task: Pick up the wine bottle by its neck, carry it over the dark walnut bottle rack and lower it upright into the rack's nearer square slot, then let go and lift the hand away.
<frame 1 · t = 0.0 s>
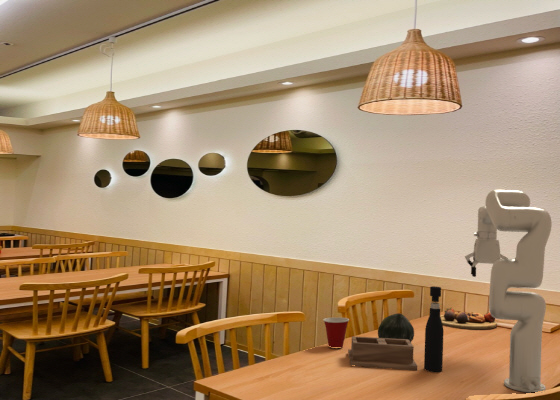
hand: (485, 277, 222), 31 cm above the table, tool pointing down, fingers open, 9 cm apart
squash: (395, 346, 226), on the table
wooden plate with food: (464, 324, 280), on the table
plastic cup: (335, 347, 219), on the table
bottle rack: (381, 361, 201), on the table
wine bottle: (433, 370, 192), on the table
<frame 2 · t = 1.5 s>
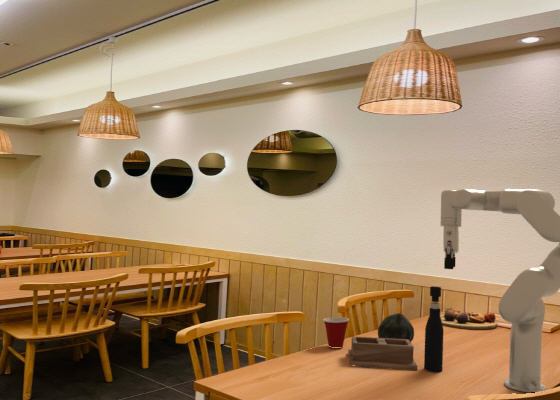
hand: (449, 267, 200), 37 cm above the table, tool pointing down, fingers open, 9 cm apart
nothing on the table moved.
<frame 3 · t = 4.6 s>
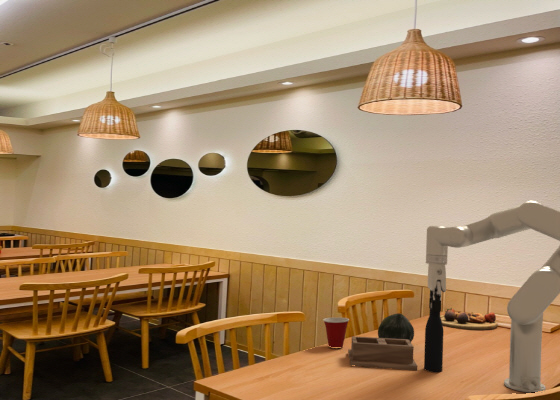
hand: (434, 309, 193), 22 cm above the table, tool pointing down, fingers closed on wine bottle, 3 cm apart
wine bottle: (433, 370, 192), on the table, touching gripper
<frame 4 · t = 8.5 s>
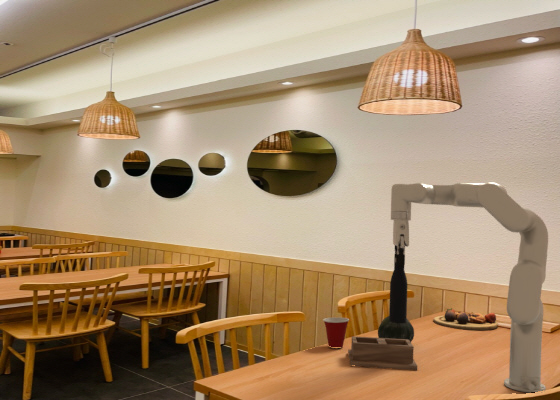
hand: (399, 264, 201), 37 cm above the table, tool pointing down, fingers closed on wine bottle, 3 cm apart
wine bottle: (397, 322, 201), point 15 cm above the table, touching gripper
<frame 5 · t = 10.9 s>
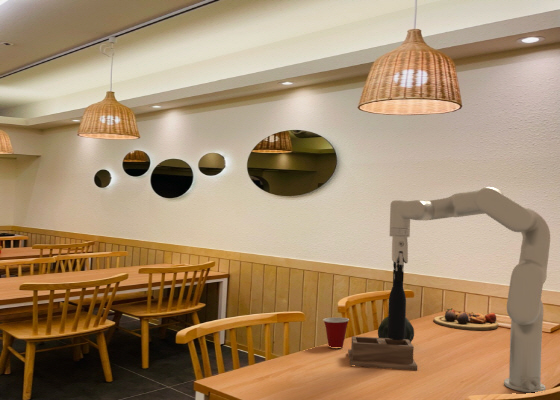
hand: (398, 280, 201), 31 cm above the table, tool pointing down, fingers closed on wine bottle, 3 cm apart
wine bottle: (396, 338, 201), point 9 cm above the table, touching gripper
when the fingers open (25 cm above the table, at t = 12.7 s): wine bottle stays where it is, resting on bottle rack.
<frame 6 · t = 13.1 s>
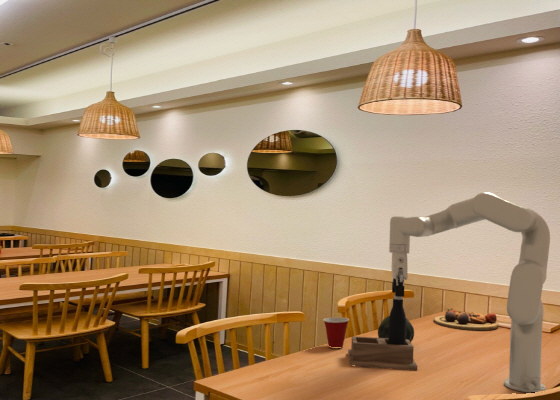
hand: (397, 294, 201), 26 cm above the table, tool pointing down, fingers open, 8 cm apart
wine bottle: (396, 358, 200), point 1 cm above the table, touching bottle rack
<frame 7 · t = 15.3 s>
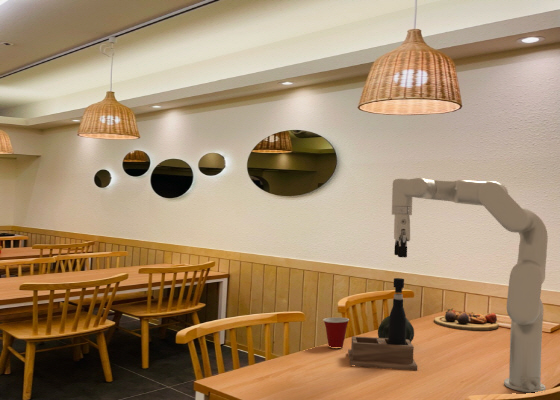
hand: (400, 256, 201), 40 cm above the table, tool pointing down, fingers open, 9 cm apart
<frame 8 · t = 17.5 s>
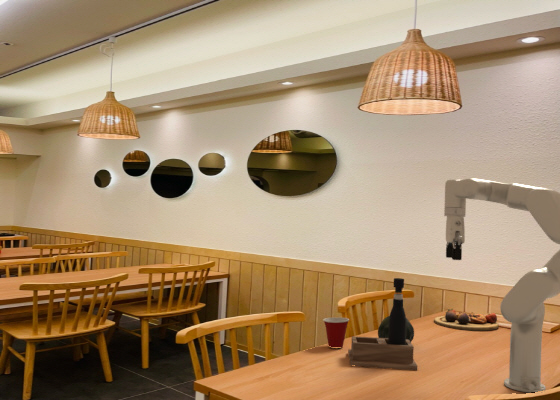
hand: (453, 258, 197), 40 cm above the table, tool pointing down, fingers open, 9 cm apart
at the end: wine bottle 0.3 cm from the target spot on the bottle rack, point 1.4 cm above the bottle rack's base; wine bottle tilted 0°; the gripper is holding nothing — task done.
